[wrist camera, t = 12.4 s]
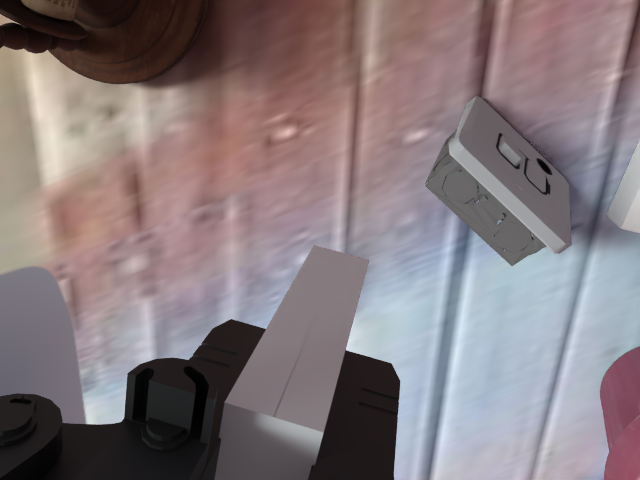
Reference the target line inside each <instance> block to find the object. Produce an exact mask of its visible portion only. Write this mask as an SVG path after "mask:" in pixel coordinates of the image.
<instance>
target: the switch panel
mask: <svg viewBox="0 0 640 480" xmlns="http://www.w3.org/2000/svg"><path fill="white" fill-rule="evenodd" d="M606 216H607V217H608V218H609V219H610V220H612V221H613V222H614V223H615V224H616V225H617V226H618V227H619V228H620V229H624V230H628V231H632V232H636V233H640V140H639V143H638V145H637V147H636V149H635V152H634V154H633V156H632V158H631V160H630V163H629V165H628V167H627V169H626V172H625V174H624V176H623V178H622V181H621V183H620V185H619V187H618V190H617V192H616V194H615V196H614V199H613V201H612V203H611V205H610V208H609V210H608V212H607V214H606Z"/></svg>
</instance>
